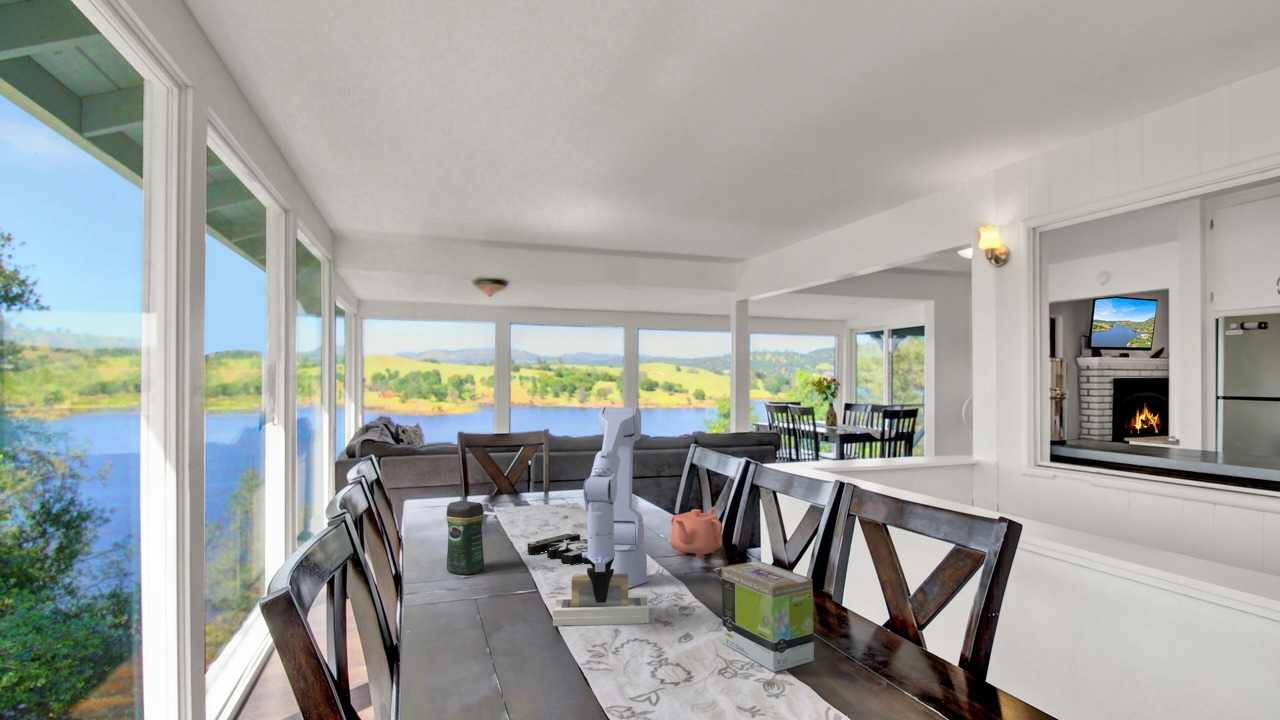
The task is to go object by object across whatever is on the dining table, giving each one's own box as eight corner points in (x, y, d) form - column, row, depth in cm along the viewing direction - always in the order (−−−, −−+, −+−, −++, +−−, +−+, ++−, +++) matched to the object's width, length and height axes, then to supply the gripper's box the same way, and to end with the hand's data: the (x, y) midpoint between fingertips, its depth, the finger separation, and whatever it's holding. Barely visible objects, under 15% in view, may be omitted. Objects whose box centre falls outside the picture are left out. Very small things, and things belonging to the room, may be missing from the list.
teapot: (715, 545, 195) (714, 503, 195) (729, 560, 178) (728, 514, 179) (667, 547, 193) (666, 505, 193) (676, 562, 176) (675, 516, 177)
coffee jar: (489, 569, 173) (488, 500, 173) (468, 577, 166) (467, 505, 166) (462, 564, 177) (462, 497, 178) (441, 572, 170) (441, 502, 171)
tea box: (816, 661, 114) (814, 578, 115) (773, 674, 109) (771, 587, 110) (761, 632, 127) (759, 558, 128) (720, 643, 122) (719, 566, 123)
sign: (571, 532, 202) (640, 548, 182) (571, 542, 202) (640, 559, 182) (522, 544, 188) (591, 563, 168) (522, 554, 188) (591, 574, 168)
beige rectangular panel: (573, 606, 139) (572, 574, 139) (628, 605, 139) (627, 573, 139) (571, 613, 135) (571, 580, 135) (628, 612, 135) (628, 579, 135)
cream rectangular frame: (647, 607, 142) (646, 594, 142) (649, 623, 133) (649, 608, 133) (556, 610, 141) (556, 596, 141) (552, 626, 132) (552, 611, 132)
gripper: (583, 525, 144) (584, 585, 144) (580, 541, 130) (580, 608, 130) (614, 524, 145) (615, 584, 144) (614, 540, 130) (615, 607, 130)
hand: (601, 595), depth 137 cm, fingers open, 7 cm apart
